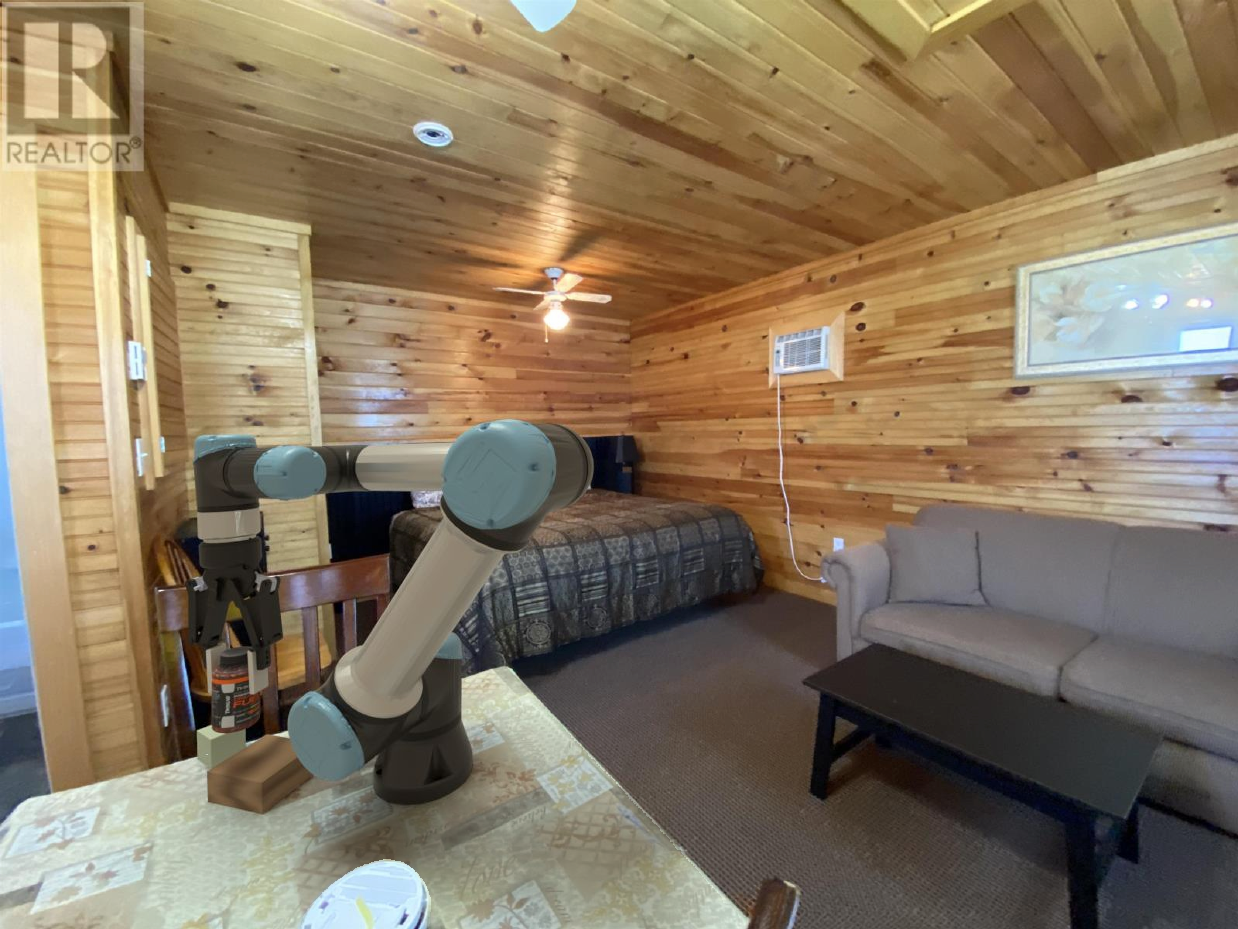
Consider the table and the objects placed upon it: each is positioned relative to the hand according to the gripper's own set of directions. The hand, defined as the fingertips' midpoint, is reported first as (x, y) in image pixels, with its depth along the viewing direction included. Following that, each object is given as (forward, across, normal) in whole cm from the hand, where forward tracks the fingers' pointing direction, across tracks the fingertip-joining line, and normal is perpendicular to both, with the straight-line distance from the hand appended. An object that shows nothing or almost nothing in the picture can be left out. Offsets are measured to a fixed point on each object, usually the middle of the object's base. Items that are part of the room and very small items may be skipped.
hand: (238, 689), depth 79 cm
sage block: (+16, +11, -8) cm, 21 cm away
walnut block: (+16, -2, -2) cm, 17 cm away
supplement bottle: (+5, 0, 0) cm, 6 cm away
